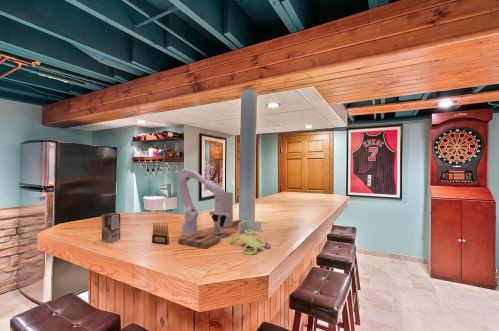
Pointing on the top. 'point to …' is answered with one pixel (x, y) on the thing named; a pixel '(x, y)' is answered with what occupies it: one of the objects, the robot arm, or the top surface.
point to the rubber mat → (220, 235)
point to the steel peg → (218, 227)
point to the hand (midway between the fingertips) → (219, 226)
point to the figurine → (250, 242)
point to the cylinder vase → (228, 209)
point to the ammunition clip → (160, 234)
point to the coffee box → (110, 227)
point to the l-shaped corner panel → (249, 226)
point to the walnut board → (199, 240)
